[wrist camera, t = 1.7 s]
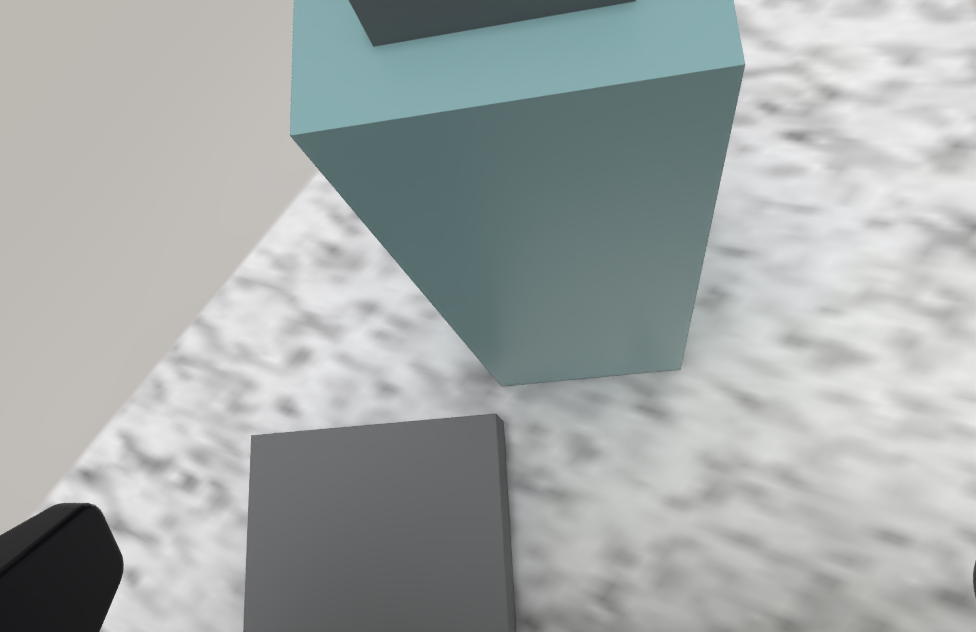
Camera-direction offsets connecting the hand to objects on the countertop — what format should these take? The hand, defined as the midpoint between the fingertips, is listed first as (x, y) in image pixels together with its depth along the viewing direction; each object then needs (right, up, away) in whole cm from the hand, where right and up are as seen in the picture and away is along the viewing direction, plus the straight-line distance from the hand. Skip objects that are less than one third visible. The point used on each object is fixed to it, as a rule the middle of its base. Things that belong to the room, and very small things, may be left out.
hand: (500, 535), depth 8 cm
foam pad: (-3, -4, +13) cm, 14 cm away
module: (+3, +3, +14) cm, 15 cm away
